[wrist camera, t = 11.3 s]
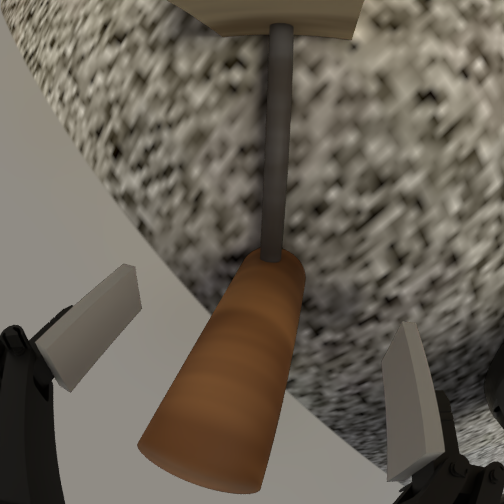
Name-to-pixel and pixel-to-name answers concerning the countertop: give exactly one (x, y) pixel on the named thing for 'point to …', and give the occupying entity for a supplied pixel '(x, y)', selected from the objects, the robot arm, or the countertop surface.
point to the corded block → (246, 284)
